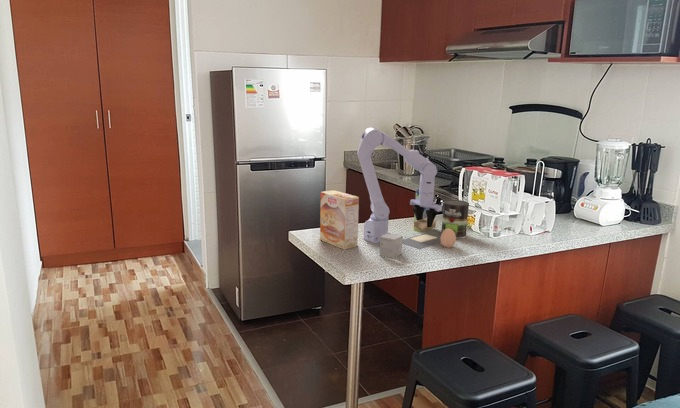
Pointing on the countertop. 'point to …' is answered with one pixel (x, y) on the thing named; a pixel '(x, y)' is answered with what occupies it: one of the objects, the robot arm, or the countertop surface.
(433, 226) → the card box
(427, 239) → the mat
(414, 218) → the box
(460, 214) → the coffee can
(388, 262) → the countertop surface
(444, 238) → the egg
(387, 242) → the product box
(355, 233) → the coffeecake box
